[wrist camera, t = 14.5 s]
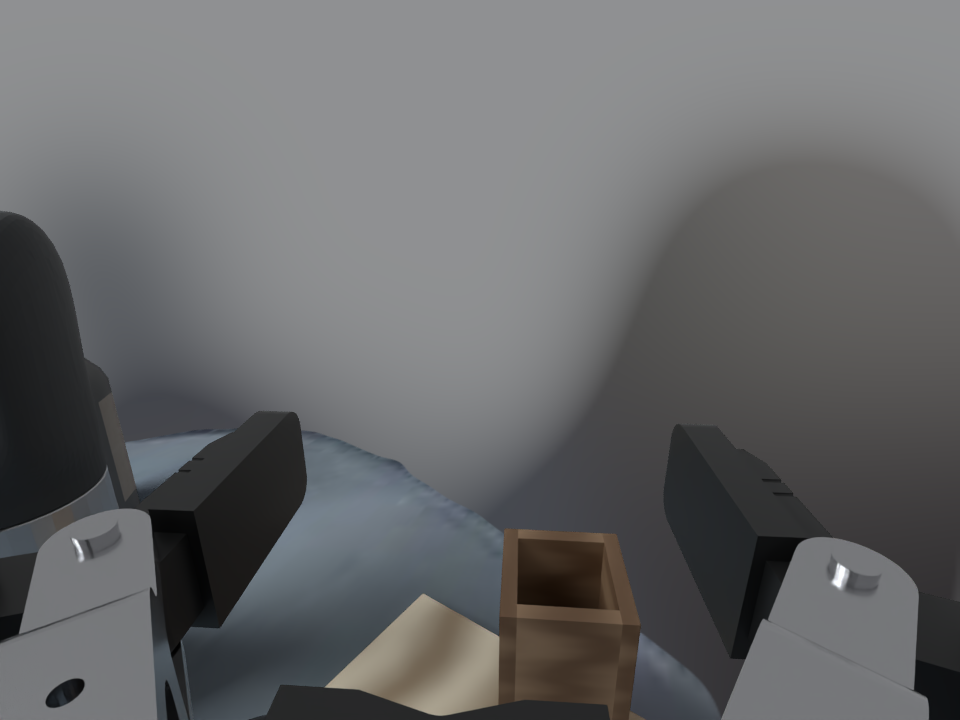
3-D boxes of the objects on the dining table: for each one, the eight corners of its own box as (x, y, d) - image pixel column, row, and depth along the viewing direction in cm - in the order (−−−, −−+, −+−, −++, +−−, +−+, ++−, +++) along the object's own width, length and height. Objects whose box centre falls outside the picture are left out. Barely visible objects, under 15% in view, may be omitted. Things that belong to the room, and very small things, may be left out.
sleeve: (497, 814, 28) (499, 616, 23) (501, 703, 34) (504, 528, 29) (614, 826, 27) (640, 625, 23) (598, 710, 33) (616, 534, 29)
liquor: (113, 489, 61) (42, 234, 51) (150, 515, 56) (80, 238, 46) (16, 530, 54) (-87, 242, 44) (49, 564, 49) (-59, 248, 39)
